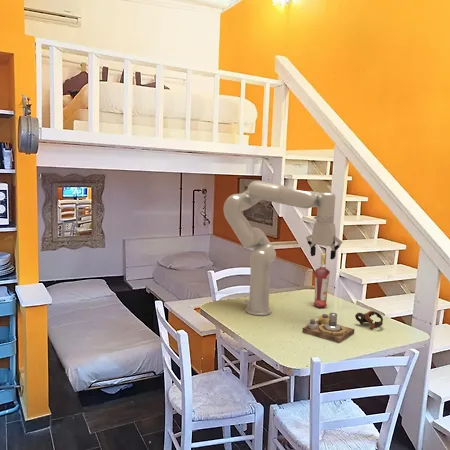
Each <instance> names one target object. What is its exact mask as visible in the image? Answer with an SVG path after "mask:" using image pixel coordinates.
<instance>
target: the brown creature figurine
mask: <svg viewBox="0 0 450 450" xmlns="http://www.w3.org/2000/svg"><path fill="white" fill-rule="evenodd" d="M374 315H376V317H377V318H379V319H380V320H379V321H374V320H373V319H372V316H374ZM354 317H355V320H356V321H357V322H358V323H359V325H363V324H364V323H368V324H369V325H370V326H369V327H368V329H369V330H371V331H373V330H375V329H379V328H380V327H382V326H383V324H384V323H383V322H384V318H383V316H382V314H380V313H379V312H377V311H375V310H369V311H368V312H365V313H362V312H357V313H355V315H354Z"/></svg>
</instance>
